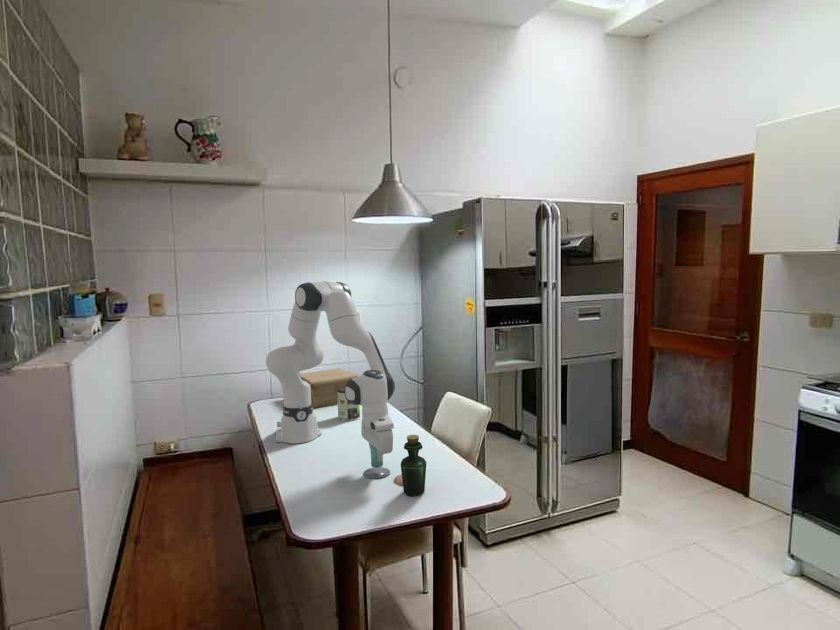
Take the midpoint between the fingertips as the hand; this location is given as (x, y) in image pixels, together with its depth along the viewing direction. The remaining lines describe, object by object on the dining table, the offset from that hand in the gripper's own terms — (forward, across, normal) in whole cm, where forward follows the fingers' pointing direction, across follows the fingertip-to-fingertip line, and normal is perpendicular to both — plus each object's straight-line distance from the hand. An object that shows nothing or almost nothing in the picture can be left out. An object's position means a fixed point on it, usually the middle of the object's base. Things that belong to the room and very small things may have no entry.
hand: (376, 457), depth 177 cm
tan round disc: (+6, +10, +7) cm, 13 cm away
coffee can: (+6, -65, +12) cm, 66 cm away
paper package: (+6, -101, +12) cm, 102 cm away
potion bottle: (+6, +19, +5) cm, 20 cm away
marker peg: (+3, 0, 0) cm, 3 cm away
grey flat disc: (+6, 0, 0) cm, 6 cm away
